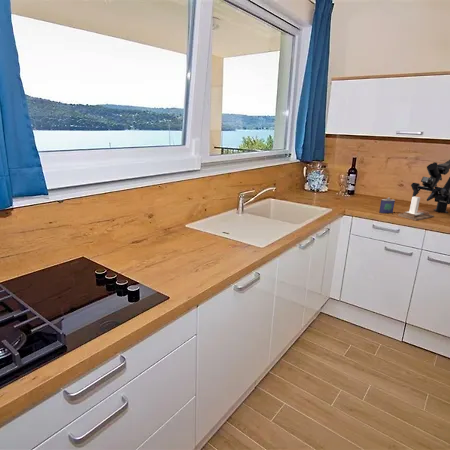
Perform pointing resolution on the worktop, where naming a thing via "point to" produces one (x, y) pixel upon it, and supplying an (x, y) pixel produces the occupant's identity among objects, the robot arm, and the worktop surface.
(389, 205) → the flask
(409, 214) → the rail board
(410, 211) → the slider
